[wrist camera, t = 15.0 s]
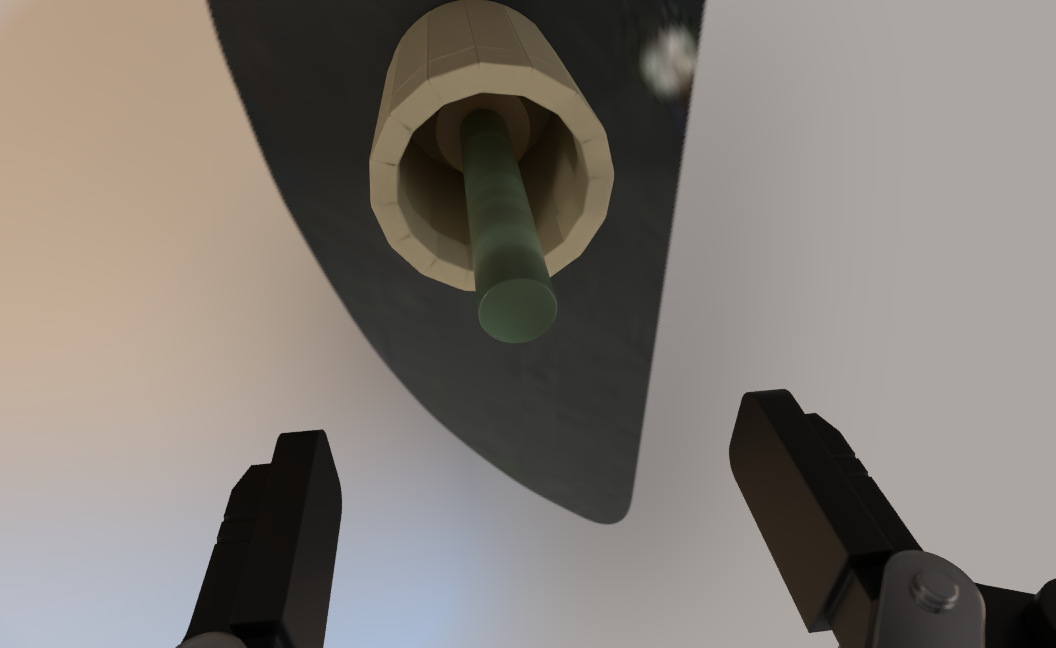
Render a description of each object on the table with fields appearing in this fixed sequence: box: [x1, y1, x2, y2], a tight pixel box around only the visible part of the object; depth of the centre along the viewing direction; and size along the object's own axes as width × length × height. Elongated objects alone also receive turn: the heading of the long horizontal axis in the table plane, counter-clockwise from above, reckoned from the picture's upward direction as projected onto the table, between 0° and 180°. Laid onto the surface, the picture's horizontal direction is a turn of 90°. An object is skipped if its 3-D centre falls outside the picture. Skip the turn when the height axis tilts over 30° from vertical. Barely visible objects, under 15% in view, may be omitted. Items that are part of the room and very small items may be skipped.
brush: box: [435, 92, 557, 343], centre depth 23 cm, size 4×4×18 cm
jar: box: [369, 0, 614, 291], centre depth 26 cm, size 8×8×11 cm
